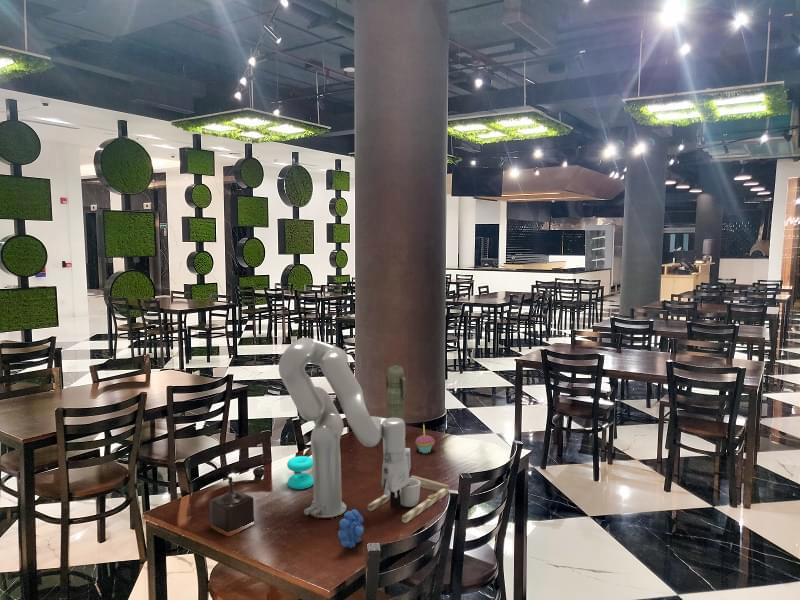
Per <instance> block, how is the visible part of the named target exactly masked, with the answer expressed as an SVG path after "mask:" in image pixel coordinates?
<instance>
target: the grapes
mask: <svg viewBox="0 0 800 600" xmlns="http://www.w3.org/2000/svg"><path fill="white" fill-rule="evenodd" d="M343 515H344V516H343V517H344V518H341V519H340V521H339V523H338V524H339V527H340V529H339V530H338V532H337V535H338V536H337V537H338V538H339V539H340V544H341V546H342V547H344V548H346V547H347V548H348V547H349V549H353V548H355V546H356V545H357V544H358V543H360V542H361V540H362V537H361V536H362V535H363V533H364V530H365V529H364V525H363V524H362V523H364V518H363V516H362V515H361V514H360V512H359V511H358V509H352V510H346V512H345V513H344V514H343ZM352 547H353V548H352Z"/></svg>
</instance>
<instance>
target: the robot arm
mask: <svg viewBox="0 0 800 600" xmlns="http://www.w3.org/2000/svg"><path fill="white" fill-rule="evenodd" d="M348 362H349V357H348V354H347V352H345V350H344V349H342V348H340V347H338V346H335V345H332V344H329V343H327V342H323V341H320V340H317V339H314V338H310V337H301V338H298V339H297V340H295V341H294V342H293V343H291V344H290V345H289V346H287V348H285V350H284V351H283V353H282V354H281V357H280V358H279V361H278V372H279V377H280V379H281V381H282V383H283V385H284V387H285V388H286V390H287V392H288V393H289V396H290V398H291V400H292V402H293V404H294V405H295V407H296V409H297V412H298V414H299V415H300V416H301V418H302V419H304V420H306V421H308V422H312V423H314V427H313V428H312V431H311V435H310V448H311V454H312V455H311V458H312V460H313V467H312V476H313V485H312V486H313V500H312V501H311V505H310V507H307V508H304V510H303V514H304V515H306V516H308V515H311V514H313V515H315V516H318V517H334V516H338V515H341V514H343V513H344V512H345V511H346V512H347V504H346V503H344V501H342V495H343V493H342V463H341V462H342V459H341V458H342V457H341V445H340V444H341V443H340V442H341V437H342V435H343V432H344V427H345V426H344V420H343V419H342V417H341V415H340V412H339V411H338V409H337V407H336V405H335V403H334V401H333V400H332V398H331V396H330V395H329V393H328V391H326V390H325V389H324V388H323V387H320V386H315V384H314V383H313V381H312V378H311V377H310V375H309V374H308V373H307V372H306V369H305V368H306V366H307V365H308V364H312V365H315V366H319V367H320V370H321V373H322V374H323V375H324V378H325V380H326V381H327V382H328V385H330V387H331V389H332V391H333V393H334V394H335V396H336V398H337V399H338V401H339V403H340V406H341V409H342V412H343V414H344V415H345V419H346V421H347V423H348V425H349V427H350V429H351V430H352V432H353V434H354V435H355V437H356V439H357V441H359V443H360V444H361V445H363V446H364V447H367V448H373V447H375V446H377V445H378V444H379V442H380V441H381V438H382V449H383V450H382V451H383V461H382V468H381V488H382V490H384V492H383V495H387V496H390V500H389V502H390V503H389V504H390V507H391V508H394V509H397V510H398V509H399V508H401V507H402V504H401V494H402V489H403V487H404V486H406V485H407V484H408V483H409V478H410V472H409V468H408V461H407V457H406V454H405V448H406V440H405V424H406V422H405V423H404V421H403V420H402V419H401V418H388V417H381V416H373V415H370V413H369V411H368V408H367V405H366V403H365V398H364V392H363V389H362V386H361V385H360V383H359V382H358V379H357V378H356V377H355V374H354V373H353V372H352V370H351V368H350V366H349V365H348ZM346 512H345V513H346ZM310 513H311V514H310ZM345 513H344V514H345ZM344 514H343V515H344ZM341 516H342V515H341Z"/></svg>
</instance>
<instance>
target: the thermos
mask: <svg viewBox="0 0 800 600" xmlns="http://www.w3.org/2000/svg"><path fill="white" fill-rule="evenodd" d="M385 386H386V403H387V404H386V405H387V418H401V419H402V420H403V421H404V423H405V439H407V438H406V435H407V424H406V418H405V416H406V414H405V413H406V412H405V410H406V409H405V408H406V407H405V405H406V399H407V398H406V397H407V379H406V377H405V372H404V368H403V366H402V365H400V364H391V365H389V367H388V370H387V374H386V375H385Z"/></svg>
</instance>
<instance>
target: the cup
mask: <svg viewBox="0 0 800 600" xmlns="http://www.w3.org/2000/svg"><path fill="white" fill-rule="evenodd" d="M420 486H421V482H420V481H419V480H418V479H415V478H410V477H409V483H408V484H407V485H406V486H404V487H403V489H402V494H401V506H403V507H407V508H412V507H413V508H414V507H416V506H418V505H419V502H420V493H421V487H420Z"/></svg>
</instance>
